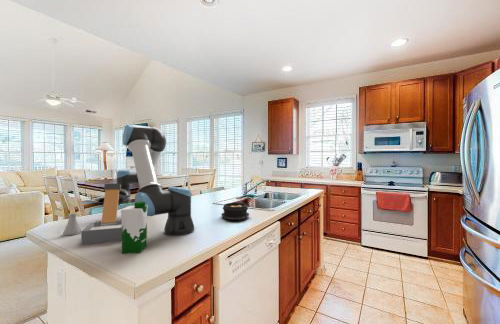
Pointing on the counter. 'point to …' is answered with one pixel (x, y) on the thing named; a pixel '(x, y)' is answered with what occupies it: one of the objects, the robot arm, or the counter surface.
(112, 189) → the lever
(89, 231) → the switch box
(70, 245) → the counter surface
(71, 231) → the flask
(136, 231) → the milk carton
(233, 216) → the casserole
